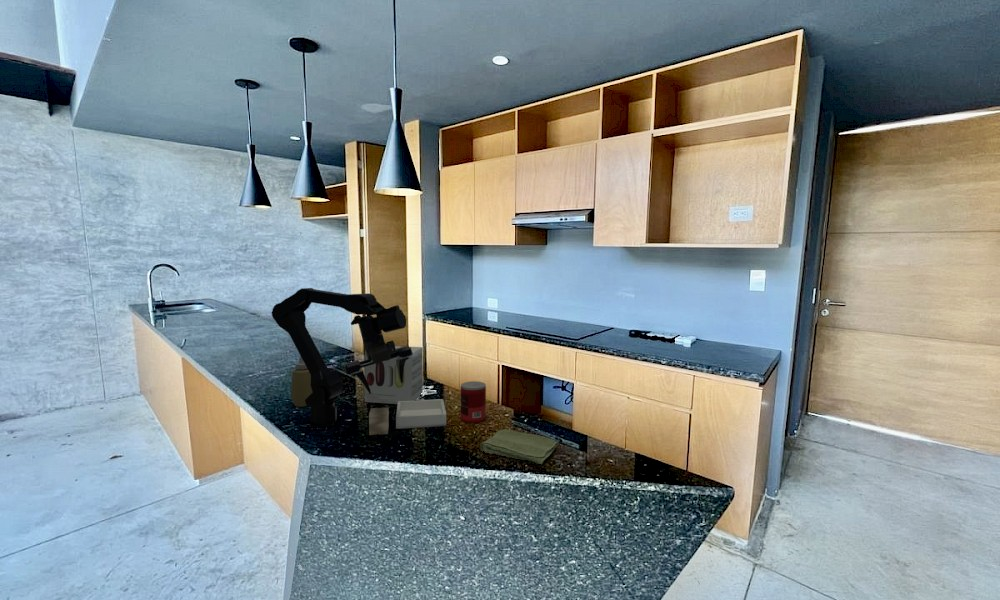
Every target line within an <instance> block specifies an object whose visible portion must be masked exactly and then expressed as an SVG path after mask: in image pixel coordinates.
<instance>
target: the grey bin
mask: <svg viewBox="0 0 1000 600" xmlns="http://www.w3.org/2000/svg"><path fill="white" fill-rule="evenodd" d="M396 405H397V407H396V408H397V409H396V413H395V414H396V415H395V429H399V430H400V429H414V428H417V429H418V428H431V427H446V426H447V411H446V406H445V402H444V399H442V398H440V399H438V398H437V399H419V400H418V399H417V400H416V401H398V404H396Z"/></svg>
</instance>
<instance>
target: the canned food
mask: <svg viewBox="0 0 1000 600" xmlns="http://www.w3.org/2000/svg"><path fill="white" fill-rule="evenodd" d="M486 397H487V386H486V383H485V382H482V381H477V380H476V381H473V380H472V381H465V382H463V383H461V385H460V419H461V421H463V422H464V423H468V424H477V423H481V422H483V421H484V420H485V419H486V418H485V417H486V409H487V408H486V406H487V405H486V404H487V403H486V401H487V400H486V399H487V398H486Z"/></svg>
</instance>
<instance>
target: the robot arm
mask: <svg viewBox="0 0 1000 600" xmlns="http://www.w3.org/2000/svg"><path fill="white" fill-rule="evenodd" d="M312 303H313V304H319V305H325V306H331V307H336V308H341V309H343V310H344V311H347V312H348V313H352V314H354V317H353V319H352V320H351V322H350V325H351V326H354V325H358V327H359V331H360V332H359V333H360V335H361V336H360V337H361V339H362V342H363V346H364V352H366V355H367V358H368V360H365V359H364V360H362V361H361V360H359V359H357V360H353V361H349V362H346V363H345V364H344V365H343V368H344V371H345V374H346V375H351V376H352V377H354V376H355V377H357V378H358V379H359V381H360V382H361V383H362V385H363V386H364V389H365V388H366V389H367V391H368V392H369V394H371V391H370V388H369V385H368V383H367V380H366V378H365V371H363V370H362V368H365V367H366V366H369V365H372V364H377V363H380V362H382V361H387V360H390V359H392V358H396V357H397V359H396V364H397V369H398V374H399V379H400V382H401V383H403V371H404V365H405V362H406V360H408V359H409V357H407V356H411V355H413V354H412V350H411V348H410V347H411V346H408V345H404V346H403V347H400V348H397V349H396V348H395V346H396V345H395V342H394V340H391V341H387V342H385V339H384V334H383V333H386V334H387V333H391V332H393V331H398V330H402V329H405V328H406V326H407V319H406V318H407V317H406V314H404V312H403V311H402V309H400V306H399V305H398V304H397V305H394V306H391V307H388V308H385V307H384V305H382V304H381V303H380V302H379V301H378V300H377V298H376V297H375V295H374V294H372V293H349V294H347V293H341V292H334V291H328V290H322V289H315V288H313V287H305V288H302V287H301V288H300V289H298V290H297V291H296V292H294V293H293V294H292V295H290V296H289V297H287V298H285V299H283V300H282V301H281V302H277V303H276V304H275V305H273V307H272V309H271V312H270V313H271V316H272V319H273V320H274V322H275V323H276V324H277V325H278V327H280V328H281V329H282V330H284V331H285V332H286V333H288V335H289V337H290V338H291V340H292V342H293V344H294V345H295V348H296V350H297V352H298V354H299V355H300V356H301V358H302V359H303V361H304V363H305V365H306V367H307V369H308V371H309V373H310V375H311V389H312V393H311V394H310V395H309V396H308V397H307V398H306V399H305V402H306V405H307V406H306V407H308V408H310V424H309V426H308V427H309V428H318V427H321V428H322V427H332V426H333V425H334V423H335V422H336V421H337V419H338V412H337V411H338V406H337V405H335V404H336V402H335V401H337V400H338V399H339V396H340V394H342V392H343V388H344V384H343V381H344V379H343V378H342V377H341V375H340V374H339V371H338V369H333V370H332V369H331V368H329V367H328V366H327V365H326V363H325V361H324V359H323V357H322V355H321V353H320V351H319V349H318V348H317V345H316V343H315V341H314V340H313V338H312V336H311V334H310V332H309V330H308V328H307V326H306V320H307V319H306V318H307V317H306V316H307V315H306V314H305V311H306V310H308V309H309V308H310V306H311V304H312ZM361 315H364V316H361ZM374 315H375V317H374ZM300 356H299V357H300ZM371 360H372V361H371Z"/></svg>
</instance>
